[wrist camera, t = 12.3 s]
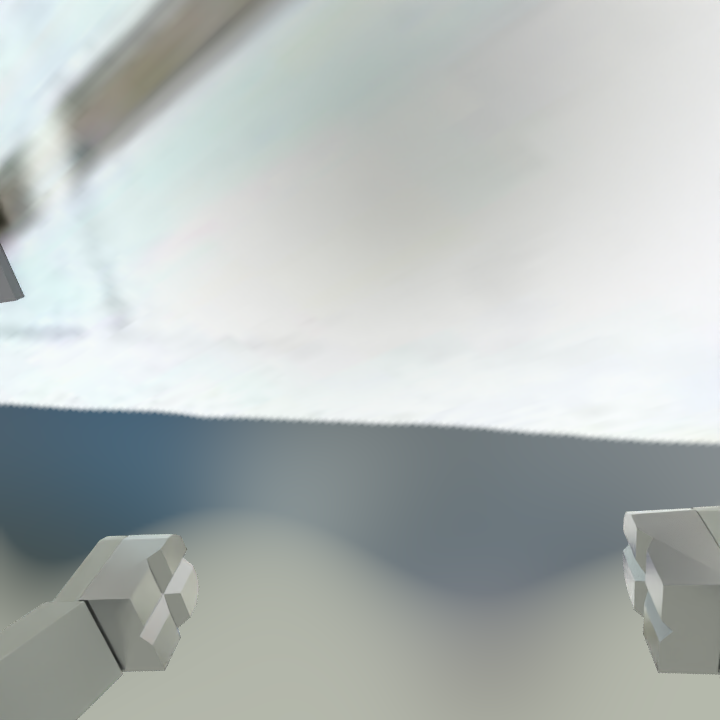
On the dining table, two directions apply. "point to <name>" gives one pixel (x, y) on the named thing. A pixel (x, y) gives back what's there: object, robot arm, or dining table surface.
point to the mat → (8, 281)
